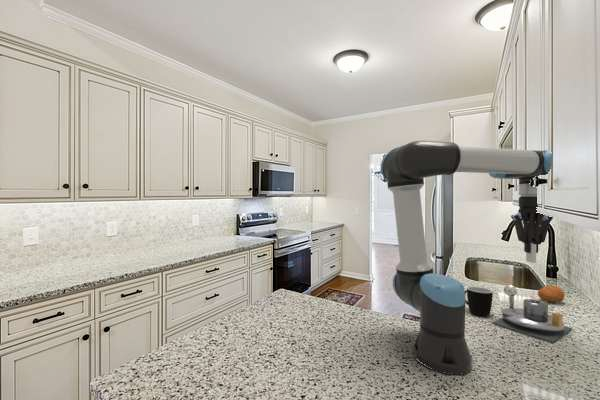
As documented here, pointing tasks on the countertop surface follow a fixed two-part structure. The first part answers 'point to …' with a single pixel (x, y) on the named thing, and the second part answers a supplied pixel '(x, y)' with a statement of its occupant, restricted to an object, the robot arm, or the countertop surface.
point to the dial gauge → (510, 294)
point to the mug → (479, 301)
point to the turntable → (517, 318)
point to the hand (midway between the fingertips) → (531, 261)
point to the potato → (551, 294)
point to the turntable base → (533, 331)
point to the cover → (535, 310)
